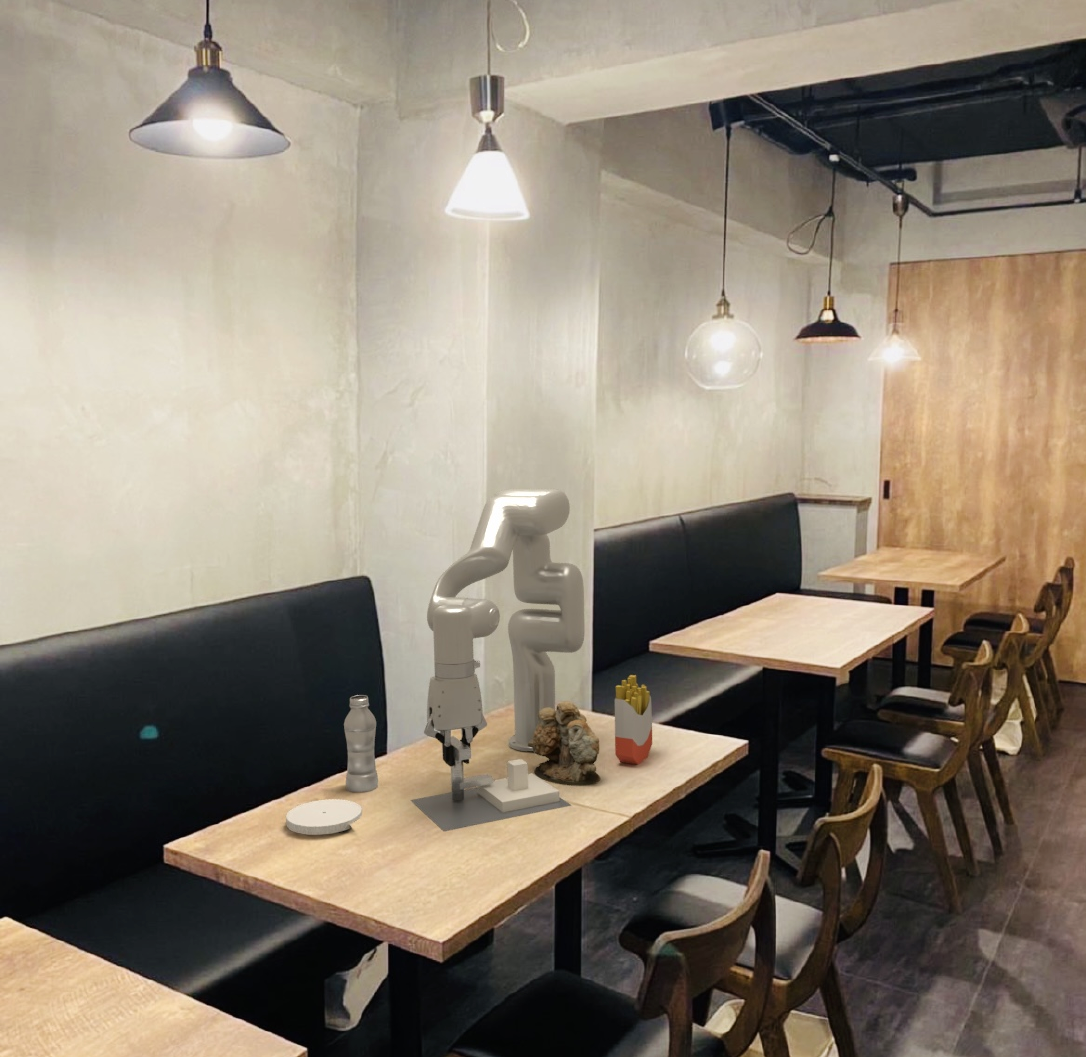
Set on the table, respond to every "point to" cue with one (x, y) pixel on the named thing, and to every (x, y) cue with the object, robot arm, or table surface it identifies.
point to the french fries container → (632, 722)
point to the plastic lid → (323, 816)
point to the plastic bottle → (360, 746)
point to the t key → (457, 773)
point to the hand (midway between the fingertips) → (456, 762)
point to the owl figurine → (565, 746)
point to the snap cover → (518, 789)
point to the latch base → (471, 810)
